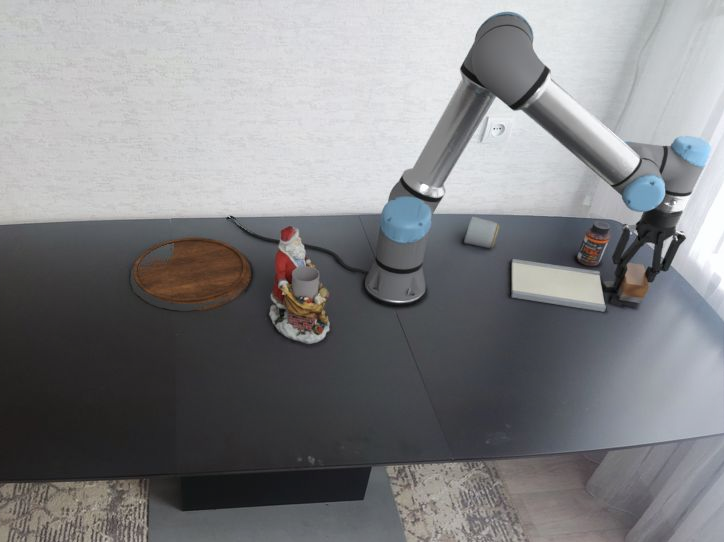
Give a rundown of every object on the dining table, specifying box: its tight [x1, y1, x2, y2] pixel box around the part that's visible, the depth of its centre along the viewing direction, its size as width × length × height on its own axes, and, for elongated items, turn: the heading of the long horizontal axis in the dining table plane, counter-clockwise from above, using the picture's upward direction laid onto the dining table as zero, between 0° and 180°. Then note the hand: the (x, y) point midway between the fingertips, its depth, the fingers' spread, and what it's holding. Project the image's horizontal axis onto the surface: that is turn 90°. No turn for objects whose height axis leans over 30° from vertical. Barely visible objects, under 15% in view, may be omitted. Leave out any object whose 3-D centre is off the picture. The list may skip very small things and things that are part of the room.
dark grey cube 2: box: [601, 280, 617, 292], centre depth 170 cm, size 3×3×1 cm
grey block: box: [609, 293, 624, 308], centre depth 165 cm, size 3×3×1 cm
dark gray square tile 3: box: [622, 301, 638, 309], centre depth 164 cm, size 3×3×1 cm
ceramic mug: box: [463, 215, 500, 249], centre depth 185 cm, size 11×8×8 cm
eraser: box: [614, 262, 650, 304], centre depth 164 cm, size 5×10×5 cm, turn 164°
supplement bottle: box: [576, 220, 611, 267], centre depth 176 cm, size 6×6×11 cm
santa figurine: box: [268, 225, 331, 345], centre depth 151 cm, size 17×14×25 cm
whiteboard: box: [510, 258, 607, 313], centre depth 170 cm, size 22×16×1 cm
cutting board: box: [133, 237, 252, 312], centre depth 174 cm, size 32×32×2 cm
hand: (628, 289), depth 165 cm, fingers closed on eraser, 5 cm apart
